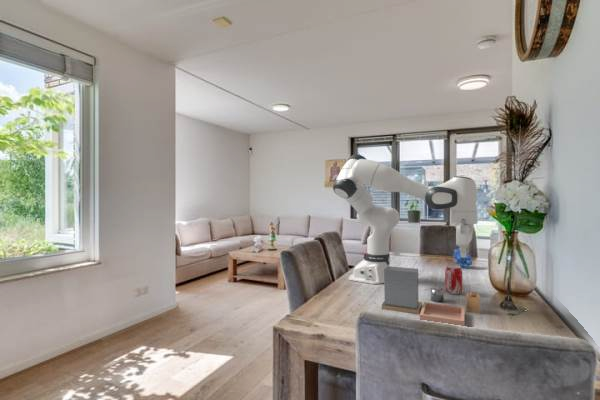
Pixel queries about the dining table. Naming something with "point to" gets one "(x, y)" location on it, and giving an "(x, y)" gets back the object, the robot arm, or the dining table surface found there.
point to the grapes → (462, 259)
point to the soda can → (453, 279)
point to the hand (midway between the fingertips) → (464, 255)
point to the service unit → (401, 290)
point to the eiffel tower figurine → (510, 303)
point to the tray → (442, 313)
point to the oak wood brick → (473, 302)
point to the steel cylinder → (437, 294)
